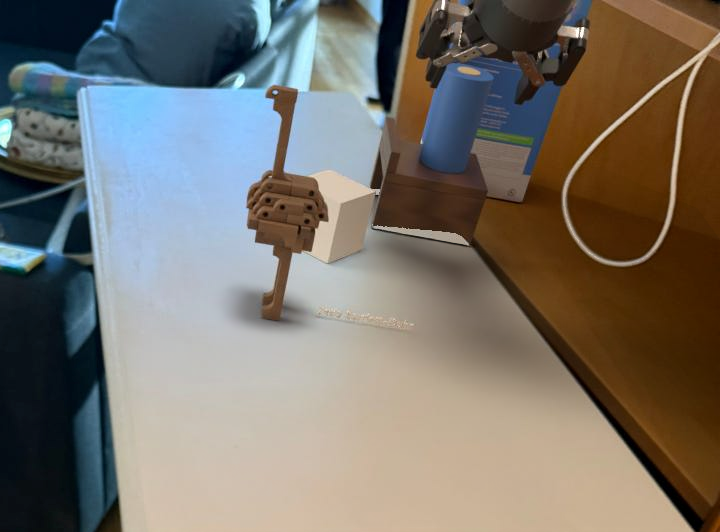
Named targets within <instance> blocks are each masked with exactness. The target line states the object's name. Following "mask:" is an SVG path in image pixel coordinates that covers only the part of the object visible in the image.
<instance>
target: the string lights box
mask: <svg viewBox="0 0 720 532" xmlns="http://www.w3.org/2000/svg"><path fill="white" fill-rule="evenodd" d="M471 1H472V0H458V1H457V4H461V5H465V6H467V4H468V3H469V2H471ZM593 2H594V0H577V2H576V4H575V5H574V7H573V8H572V10H571V11H570V13H569V15H568V16H567V18H566V19H565V21H564V22H563V24H562V25H565V26H571V27H574V25H575V23H576V22H577V21H578V20H579V19H588V16H589V13H590V10H591V7H592V5H593ZM455 25H456V23H455V24H453V26H452V27H450V29H451V28H453V27H455ZM470 44H471V43H470V41H468V45H470ZM452 46H453V43H452V44H450V48H449V49H451V48H452ZM546 50H547V52H548V54H549V58H557V56H558V54H559V52H560V44H559V43H558V42H556V43H555V44H554V45H553V46H552V47H550V48H548V49H546ZM453 63H459V62H458V61H455V62H453ZM459 64H460V63H459ZM462 64H466V65H470V66H474V67H477V68H480V69H483V70H485V71H487V72H489V73H490V74H492V75H493V77H494V79H493V82H492V85H491V89H490V92H489V95H488V98H487V102H486V105H485V108H484V111H483V114H482V118H481V121H480V124H479V127H478V130H477V134H476V137H475V140H474V143H473V147H472V150H471V153H474V154H476V155H477V158H478V161H479V165H480V168H481V171H482V174H483V177H484V180H485V183H486V186H487V189H488V193H487V196H486V198H487V197H488V198H493V199H498V200H505V201H510V202H516V203H523V200H524V197H525V195H526V191H527V189H528V186H529V183H530V179H531V177H532V175H533V171H534V168H535V165H536V163H537V160H538V157H539V154H540V151H541V148H542V145H543V144H544V143H543V142H544V140H545V137H546V134H547V131H548V128H549V125H550V123H551V119H552V117H553V114H554V111H555V109H556V106H557V103H558V100H559V98H560V95H561V91H562V88H563V86H555V85H554V84H553V81H547V82H545V84H544V85H543V86H540V88H539V89H538V91H537V92H536V94H535V95H534V97H533V98H532V99H530V100H529V101H527V100H525V101H524V103H523V104H522V105H518V104H514V101H515V95H516V89H517V85H518V82H519V80H520V79H521V77H522V75H523V72H522V70H521V68H520V66H519V64H518V62H517V61H513V63H508V62H504V61H501V60H499V59H494V58H483V57H479V56H478V57H476V58H474V59H472V60H469V61H467V62H465V63H462ZM438 86H439V85H438ZM437 90H438V87H437V89H435V88H434V91H433V94H432V98H431V103H430V105H429V110H428V113H427V117H426V121H425V125H424V129H423V131H422V134H421V135H422V136H421V140H420V143H421V144H423V141H424V137H425V134H426V130H427V126H428V123H429V119H430V115H431V112H432V108H433V105H434V101H435V97H436V94H437Z"/></svg>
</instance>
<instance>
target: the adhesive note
mask: <svg viewBox="0 0 720 532" xmlns="http://www.w3.org/2000/svg"><path fill="white" fill-rule="evenodd" d="M306 176H307V177H312V178H315V179H316V180H317V182H318V185H319V191H320V192H321V195H322V196H323V198H324V202H325V203H326V204H327V207H328V219H329V222H324V221H320V222H319V227H318V229H317V228H315V238H314V243H313V247H312V252H308V251H303V250H302V252H304V253H306V254H307V255H310V256H312V257H313V258H315V259H317V260H319V261H320V262H323V263H325V264H330V263H333V262H336V261H338V260H341V259H343V258H345V257H349V256H351V255H353V254H356V253H359V252H360V251H359V250H361V251H362V250H363V245H364V242H365V238H366V233H367V231H368V230H367V229H368V225H369V222H370V217H371V214H372V209H373V205H374V202H375V198H376V196H375V194H376V191H374V190H372V189H370V188H369V186H368V187H367V186H366V185H363V184H361V183H359V182H357V181H355V180H353V179H351V178H349V177H346V176H344V175H342V174H340V173H338V172H336V171H334V170H332V169H326V170H323V171H319V172H316V173H313V174H310V175H306Z"/></svg>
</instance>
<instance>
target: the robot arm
mask: <svg viewBox="0 0 720 532" xmlns="http://www.w3.org/2000/svg"><path fill="white" fill-rule="evenodd" d="M576 2H577V0H472V1H471V2H469V3H468V4H467V6H465V5H461V4H458V2H453V1H451V0H433V2H432V4H431V6H430V8H429V10H428V12H427V13H426V16H425V18H424V19H423V22H422V24H421V26H420V28H419V32H418V35H419V37H418V41H417V43H418V44H417V48H416V52H415V57H416V58H417V59H418V60H421V61H422V60H423V61H424V60H427V59H428V58H429V59H428V61H427V64H426V70H425V77H424V78H425V81H426V82H429V86H428V87H429V89H434V90H435V89H437V87H438V85H439V83H440V81H441V79H442V77H443V74H444V72H445V70H446V67H447V65H448V64H451V63H453V62H455V61H458V62H459V63H460V64H462V63H465V62H467V61H469V60H472V59H474V58H476V57H478V56H479V57H483V58H494V59H499V60H501V61H504V62H508V63H513V61H517V62H518V64H519V66H520V68H521V70H522V72H523V75H522V77H521V79H520V80H519V82H518V85H517V89H516V95H515V101H514V104H518V105H522V104H523V103H524V101H525V100H527V101H529V100H530V99H532V98H533V97H534V95H535V94H536V92H537V91H538V89H539V88H540V86H543V85H544V84H545V82H547V81H553V84H554V85H555V86H562V87H563V86H566V84H567V83H568V81H569V80H570V78H571V76H572V75H573V73H574V71H575V70H576V68H577V67H578V65H579V63H580V61H581V60H582V58H583V56H584V55H585V53H586V52H587V45H588V39H589V34H590V27H591V21H590V19H588V18H587V19H579V20H578V21H577V22H576V23H575V25H574V27H571V26H565V25H562V24H563V22H564V21H565V19H566V18H567V16H568V15H569V13H570V11H571V10H572V8H573V7H574V5H575V4H576ZM455 23H456V25H455V27H453V28H451V27H452V26H453V24H455ZM468 41H470V43H471V44H470V45H468ZM556 42H558V43H559V44H560V52H559V54H558V56H557V58H549V54H548V52H547V50H546V49H548V48H550V47H552V46H553V45H554V44H555V43H556ZM452 43H453V46H452V48H451V49H449V48H450V44H452Z"/></svg>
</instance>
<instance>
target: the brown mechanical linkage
mask: <svg viewBox="0 0 720 532" xmlns="http://www.w3.org/2000/svg"><path fill="white" fill-rule="evenodd" d="M275 91H276V92H277V93H274V92H275ZM264 95H265V96H264V97H265V98H266V99H268V100H269V99H270V100H273V103H272V111H274V112H276V113H277V114H278V115H279V116H280V118H281V119H280V125H279V132H278V136H277V137H278V138H277V143H276V148H275V154H274V160H273V165H272V169H269V170H266V171H265V172H264V173H263V174H262V176H261V179H260V180H258V181H257V182H253V183H252V184H251V185H250V187H249V188H248V191H247V196H246V206H245V208H246V209H247V210H248V213H247V218H246V219H247V220H246V228H247V229H248V230H253V231H255V236H254V243H256V244H261V245H266V246H273V248H272V256H274V257H276V258H277V259H278V263H277V268H276V273H275V278H274V284H273V287H272V290H270V291H268V292H263V294H262V300H261V305H262V309H261V319H265V320H271V321H272V320H273V321H280V320H281V314H282V309H283V305H284V298H285V294H286V289H287V284H288V278H289V273H290V268H291V264H292V263H291V262H292V257H293V254H298V255H301V254H302V252H304V251H308V252H312V247H313V243H314V238H315V228H317V229H318V227H319V222H320V221H324V222H329V219H328V207H327V204H326V203H325V202H324V198H323V196H322V195H321V192H320V191H319V185H318V182H317V180H316V179H315V178H312V177H307V176H308V175H301V174H294V173H289V172H285V164H286V158H287V152H288V147H289V143H290V136H291V130H292V125H293V119H294V113H295V109H296V103H297V101H298V95H299V89H298V88H296V87H295V88H294V87H288V86H284V85H278V84H272V85H270V86H269V87H268V88H267V89H266V91H265V94H264ZM302 250H303V251H302ZM318 308H320V309H319V310H318V311H317V312H316V315H321V316H323V315H324V316H326V317H328V316H329V317H331V318H335V316H336V318H337V319H342V313H343V312H342V311H339V310H338V311H337V307H335V308H334V309H331V310H329V309H328V308H326V309H325V306H322V305H318ZM323 310H324V311H323ZM336 312H337V314H336ZM332 313H333V314H332ZM369 316H370V313H367V315H366V314H359V315H358V314H356V313H352V311H351V310H347V311H346V315H345V320H352V321H355V322H360V320H361V319H360V318H362V322H363V323H370V324H375V325H380V326H382V323H383V324H388V325H387V326H388V327H390V328H394V327H395V326H396V329H403V330H404V329H405V327H406V330H409V331H410V330H411V329H412V327H413V326H415V323H410V324H409V323H408V322H407V319H404V322H403V321H401V322H400V321H398V320H396V318H393V317H390V318H389V322H388V321H387V320H384V319H383V318H382V316H381V317H379V316H376V317H374V316H370V317H369ZM365 318H366V319H365ZM392 321H394V323H393V324H391V323H392ZM381 322H382V323H381ZM399 324H400V325H399Z"/></svg>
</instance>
